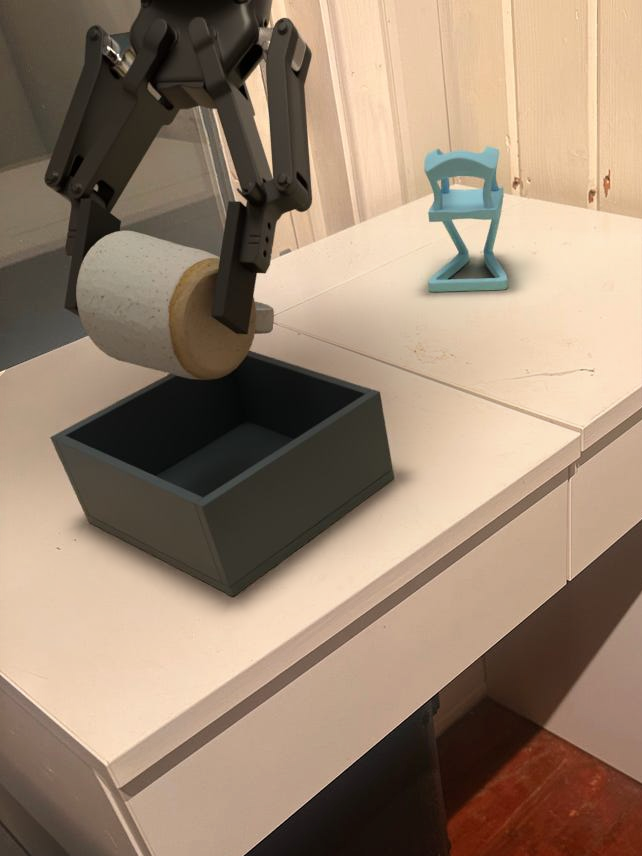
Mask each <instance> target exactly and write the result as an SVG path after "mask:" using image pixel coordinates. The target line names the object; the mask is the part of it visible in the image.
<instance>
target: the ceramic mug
mask: <svg viewBox="0 0 642 856" xmlns="http://www.w3.org/2000/svg"><path fill="white" fill-rule="evenodd" d="M219 261H220V256H218V255H215V254H213V253H211V252H209V251H206V250H202V249H199V248H195V247H191V246H190V247H189V246H185V245H182V244H179V243H176V242H173V241H169V240H165V239H162V238H158V237H155V236H152V235H148V234H145V233H141V232H138V231H133V230H120V231H118V232H114V233H111V234H109V235H106V236H104V237H103V238H102V239H100V240H99V241H97V242H96V244H95V245H93V246H92V247H91V249H90V250H89V251H88V253H87V254H86V256H85V258H84V260H83V262H82V265H81V268H80V271H79V275H78V280H77V287H76V300H77V306H78V312H79V315H80V316H79V318H80V321H81V325H82V327H83V329H84V330H85V332H86V334H87V336H88V337H89V339H90V340H91V342H92V344H94V345H95V346H96V348H98V349H99V351H101V352H102V353H104V354H105V355H107V356H108V357H110V358H113V359H115V360H116V361H120V362H123V363H128V364H132V365H135V366H139V367H143V368H147V369H149V370H153V371H158V372H163V373H166V374H173V375H177V376H180V377H185V378H189V379H201V380H211V379H217V378H221V377H223V376H225V375H228V374H229V373H231V372H232V371H233V370H235V369H236V368H237V367H238V366H239V364H240V363H241V362H242V361H243V360H244V358H245V357H246V355H247V354H248V352H249V351H251V347H252V345H253V342H254V339H255V335H263V334H265V335H267V334H270V333H271V332H273V330H274V323H275V322H274V321H275V311H274V307H273V306H272V305H269V304H267V303H263V302H259V301H256V300H255V297H254V296H253V302H252V309H251V315H250V322H249V329H248V334H236V333H234V332H233V331H232V330H230V329H229V328H227V327H226V326H225V325H223V324H222V323H220V322H219V321H217V320H216V319H215V318H213V317H212V316H211V314H212V308H213V301H214V294H215V288H216V281H217V275H218V268H219Z"/></svg>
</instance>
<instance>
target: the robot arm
mask: <svg viewBox="0 0 642 856" xmlns="http://www.w3.org/2000/svg"><path fill="white" fill-rule="evenodd" d="M272 5H273V0H140V8H139V11H138V13H137V16H136V18H135V19H134V21H133V22H132V24H131V26H130V29H129V31H126V32H120V33H115V34H109V33H107V31H106V30H105V29H104V28H103V27H102V26H101V25H98V24H95V25H92V26H90V28H88V30H87V32H86V35H85V45H84V46H85V48H84V62H83V63H84V64H83V67H82V69H81V72H80V75H79V78H78V81H77V84H76V87H75V89H74V92H73V95H72V96H71V97H72V98H71V100H70V103H69V105H68V109H67V112H66V115H65V118H64V120H63V123H62V126H61V129H60V131H59V134H58V137H57V140H56V143H55V145H54V148H53V151H52V155H51V156H50V160H49V162H48V165H47V168H46V171H45V173H44V183H45V185H46V187H49V188H50V189H51V190H53V191H54V192H56V193H57V194H58V195H59V196H61V197H62V198H64V199H65V200H66V201H68V202H69V203H70V215H69V219H68V220H69V221H68V227H67V230H68V231H67V233H66V237H67V238H66V240H65V246H64V247H65V254H66V256H67V257H69V258H70V259H71V262H70V268H69V275H68V280H67V287H66V294H65V301H64V306H63V307H64V309H65V310H67V311H69V312H71V313H73V314H74V315H76V316H77V317H80V315H79V312H78V306H77V300H76V287H77V280H78V275H79V271H80V268H81V265H82V262H83V260H84V258H85V256H86V254H87V253H88V251H89V250H90V249H91V247H92V246H93V245H95V244H96V242H97V241H99V240H100V239H102V238H103V237H104V236H106V235H109V234H111V233H114V232H118V231H121V225H122V220H120V219H119V218H118V217H117V216H115V215H114V214H113V213H111V212H112V211H113V209H114V207H115V206H116V204H117V202H118V201H119V199H120V198H121V196H122V194H123V192H124V191H125V189H126V187H127V186H128V184H129V183H130V181H131V179H132V177H133V175H134V174H135V172H136V171H137V170H138V167H139V166H140V164H141V163H142V161H143V159H144V157H145V156H146V154H147V152H148V150H149V149H150V147H151V146H152V144H153V142H154V141H155V139H156V138H157V136H158V134H159V132H160V131H161V130H162V128H163V126H170V125H172V124H173V122H174V121H175V118H176V117H177V115H178V114H179V112H180V110H190V109H194V108H196V107H202V108H206V109H209V110H216V112H217V116H218V118H219V122H220V125H221V128H222V131H223V135H224V137H225V142H226V145H227V148H228V151H229V154H230V158H231V161H232V164H233V167H234V171H235V173H236V177H237V180H238V184H239V187H240V188H238V187H236V191H237V193H238V194H239V195H240V196H241V197H242V198H243V199H244V200H245V201H246V204H244V203H243V202H242V201H240V200H239V201H237V200H236V201H234V200H233V201H232V200H229V201H228V202H227V209H226V217H225V223H224V230H223V236H222V241H221V242H222V243H221V249H220V255H219V258H220V261H219V268H218V275H217V281H216V288H215V294H214V301H213V308H212V314H211V316H212V317H213V318H215V319H216V320H217V321H219V322H220V323H222V324H223V325H225V326H226V327H227V328H229V329H230V330H232V331H233V332H234V333H236V334H248V329H249V322H250V315H251V309H252V302H253V297H254V295H255V290H256V289H255V288H256V281H257V277H258V274H266V273H267V272H268V270H269V269H270V266H271V260H272V254H273V246H274V242H275V234H276V228H277V223H278V221H279V220H280V219H281V217H282V216H283V215H284V214H286V213H289V212H292V211H294V210H295V211H296V212H299V213H304V212H306V211H308V210H310V208H311V206H312V204H313V192H312V191H313V189H312V176H311V162H310V161H311V159H310V147H309V131H308V120H307V104H306V91H305V90H306V89H305V85H306V81H307V77H308V74H309V73H308V72H309V69H310V66H311V62H312V58H313V57H312V56H313V53H312V50H311V49H310V47H309V45H308V44H307V42H306V41H305V39H304V38H303V37H302V34H301V33H300V32H299V30H298V28H297V27H296V25H295V24H294V23H293V21H292V20H291V19H290V18H288V17H281V18H280V19H278V20H277V21H276V22H275V23H274V26H273V27H269V24H270V20H271V13H272ZM262 61H264V63H265V75H266V76H265V77H266V78H265V79H266V94H267V108H268V121H269V122H268V124H269V139H270V152H271V166H272V167H271V168H270V164H269V162H268V159H267V154H266V152H265V149H264V145H263V143H262V140H261V135H260V132H259V129H258V127H257V124H256V121H255V116H256V112H255V108H254V105H253V102H252V99H251V96H250V93H249V89H248V86H247V83H246V81H247V80H249V77H250V76H251V75H252V74H253V72H254V71H255V70H256V68H257V67H258V66H259V65H260V64H261V62H262ZM149 85H150V86H151V87H152V89H153V90H154V91H155V92H156V93H157V94H158V95H159V96H160V98H159V99H157V97H156V96H154V95H153V94H152V93H151V91H150V90H149ZM271 169H272V171H271ZM96 186H97V190H96V189H95V187H96Z"/></svg>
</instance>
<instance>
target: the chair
mask: <svg viewBox="0 0 642 856" xmlns="http://www.w3.org/2000/svg"><path fill="white" fill-rule="evenodd" d="M499 156H500V150H499V148H496V147H491V146H488V145H487V146H486V147H485V148H484V150H483V151H482V152H473V151H469V150H453V151H449V152H446V153H444V152H442V151H441V149H440V148H436V149H433V150H432V151H430V152H428V153H427V154H425V157H424V163H423V169H424V173H425V175H426V177H427V180H428V181H429V184H430V187H431V189H432V192H433V202H432V204H431V206H430V208H429V209H428V211H427V213H428V214H427V215H428V223H441V222H442V224H443V226H444V228H445V230H446V231H447V234H448V235H449V237H450V238H451V241H452V242H453V244H454V246H455V248H456V250H457V254H456V255H455V256H454V257H453V258H452V259H451V260H450V261H448V262H447V263H446V264H445V265H444V266H443V267H441V268H440V269H439V270H438V271H437V272H435V273H434V274H433V275H432V276H431V277H430V278H429V279H428V281H427V283H428V290H429V292H431V293H440V292H471V291H473V292H474V291H502V290H507V289H508V288H509V287H508V285H509V284H508V276H507V273H506V272H505V270H504V268H503V267H502V266H501V264H500V262H499V261H498V259H497V257H496V256H495V253H494V247H495V242H496V239H497V234H498V229H499V225H500V220H501V216H502V210H503V203H504V197H505V195H504V186H499V184H498V182H497V167H498V162H499ZM456 177H471V178H478V179H482V180H484V182H483V185H482V188H473V189H471V188H470V189H456V188H455V189H453V188H450V187H451V186H450V185H451V184H450V178H456ZM439 181H440V185H439V184H438V182H439ZM453 220H479V221H480V220H481V221H490V224H489V229H488V233H487V236H486V240H485V243H484V246H483V260H484V263H485V265H486V267H487V269H488V270H489V271H490V273H491V274H492V276H493V277H487V278H486V277H485V278H456V279H455V278H454V279H450V278H451V277H452V276H454V275H455V274H456V273H457V272H458V271H460V270H461V269H462V268H464V266H466V264H467V263H468V262H469V261H470V254H469V249H468V248H467V245H466V244H465V241H464V240H463V239H462V237H461V235H460V233H459V231H458V229H457V228H456V225H455V223H454V222H453Z"/></svg>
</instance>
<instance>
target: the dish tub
mask: <svg viewBox="0 0 642 856" xmlns="http://www.w3.org/2000/svg"><path fill="white" fill-rule="evenodd" d="M388 437H389V436H388V431H387V425H386V419H385V414H384V408H383V402H382V396H381V391H380V390H376V389H372V388H369V387H366V386H364V385H363V386H362V385H360V384H356V383H353V382H351V381H348V380H344V379H342V378H341V379H340V378H338V377H335V376H331V375H329V374H325V373H322V372H318V371H316V370H312V369H309V368H307V367H303V366H299V365H297V364H293V363H290V362H286V361H284V360H281V359H278V358H274V357H271V356H268V355H265V354H262V353H259V352H255V351H252V350H249V352H248V354H247V355H246V357H245V358H244V360H243V361H242V362H241V363H240V364H239V366H238V367H237V368H236V369H235V370H233V371H232V372H231V373H229V374H228V375H225V376H223V377H221V378H217V379H211V380H201V379H189V378H185V377H180V376H177V375H173V374H170V373H168V374H167V375H165V376H163V377H161V378H159V379H157V380H155V381H154V382H152V383H150V384H148V385H146V386H144V387H142V388H140V389H138V390H137V391H135V392H133V393H131V394H128V395H127V396H125V397H124V398H121V399H120V400H118V401H116V402H114V403H112V404H111V405H110V404H109V405H108V406H106V407H104V408H102V409H101V410H99V411H97V412H95V413H93V414H91V415H90V416H87V417H86V418H83V419H82V420H80V421H78V422H76V423H74V424H72V425H71V426H69V427H67V428H65V429H63V430H61V431H59V432H57V433H56V434H53V435H51V436H50V441H51V443H52V445H53V447H54V450H55V451H56V454H57V457H58V458H59V461H60V462H61V464H62V465H61V466H62V467H63V469H64V472H65V474H66V475H67V478H68V480H69V482H70V485H71V487H72V489H73V492H74V493H75V496H76V498H77V500H78V503H79V504H80V507H81V509H82V511H83V513H84V516H85V518H86V521H87V522H88V523H90V524H91V525H94V526H95V527H97V528H99V529H101V530H103V531H105V532H107V533H109V534H111V535H113V536H115V537H117V538H119V539H120V540H123V541H124V542H127V543H128V544H131V545H132V546H134V547H136V548H138V549H140V550H142V551H143V552H146V553H148V554H149V555H152V556H153V557H155V558H157V559H159V560H160V561H163V562H166V563H167V564H169V565H171V566H173V567H175V568H177V569H179V570H181V571H182V572H184V573H187V574H188V575H190V576H192V577H194V578H197V579H198V580H200V581H202V582H204V583H206V584H208V585H209V586H212V587H213V588H216V589H217V590H219V591H221V592H223V593H225V594H227V595H229V596H231V597H235V596H236V595H237V594H239V593H240V592H241V591H243V590H244V589H246V588H247V587H249V586H250V585H251V584H252V583H253V582H255V581H256V580H258V579H259V578H261V577H262V576H263V575H265V574H266V573H267V572H269V571H270V570H271V569H273V568H274V567H276V566H277V565H278V564H280V563H281V562H282V561H284V560H285V559H286V558H288V557H289V556H290V555H293V554H294V553H295V552H296V551H297V550H298V549H300V548H302V547H303V546H304V545H306V544H307V543H309V541H311V540H313V539H314V538H315V537H316V536H318V535H319V534H321V533H322V532H323V531H324V530H326V529H327V528H329V527H330V526H332V525H333V524H334V523H335V522H337V521H338V520H340V519H341V518H342V517H344V516H345V515H347V514H348V513H349V512H351V511H352V510H353V509H354V508H356V507H357V506H358V505H360V504H361V503H363V502H364V501H365V500H366V499H368V498H370V497H371V496H372V495H373V494H375V493H377V492H378V491H379V490H380V489H382V488H383V487H385V486H386V485H387V484H389V483H390V482H391V481H392V480H394V479H395V474H394V469H393V467H394V466H393V462H392V456H391V450H390V449H391V448H390V443H389V438H388Z"/></svg>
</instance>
